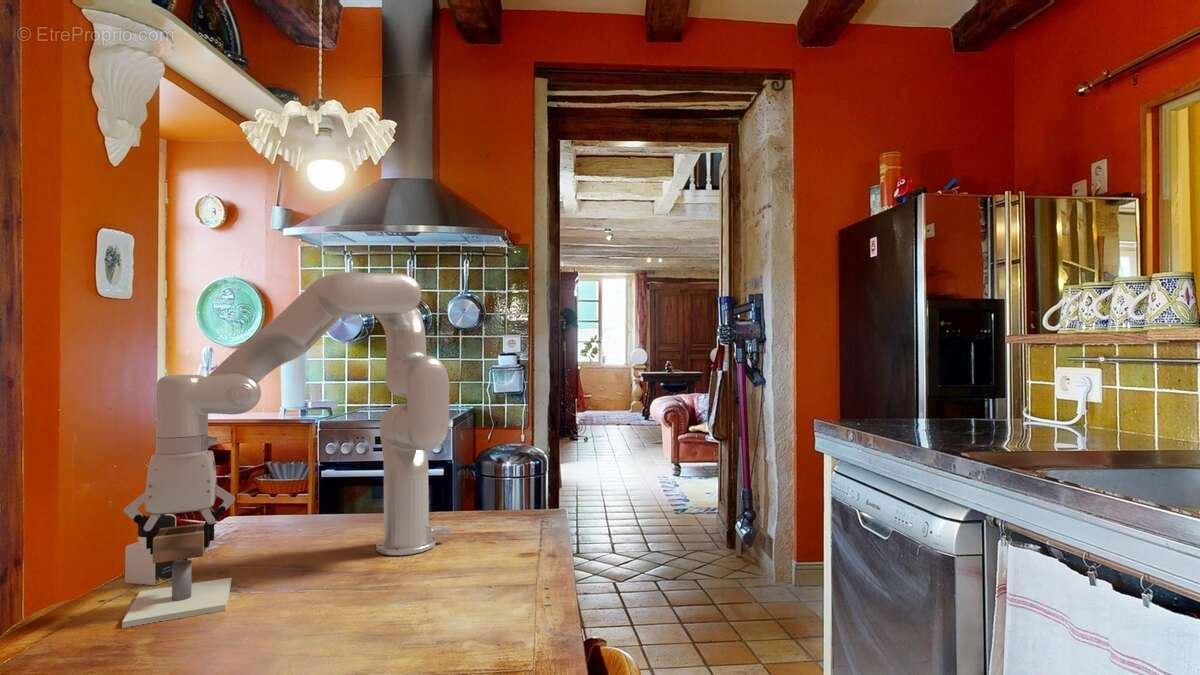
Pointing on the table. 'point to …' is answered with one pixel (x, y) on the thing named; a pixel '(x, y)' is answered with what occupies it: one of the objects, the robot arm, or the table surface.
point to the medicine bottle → (148, 558)
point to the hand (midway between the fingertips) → (181, 548)
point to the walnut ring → (178, 543)
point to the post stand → (179, 598)
